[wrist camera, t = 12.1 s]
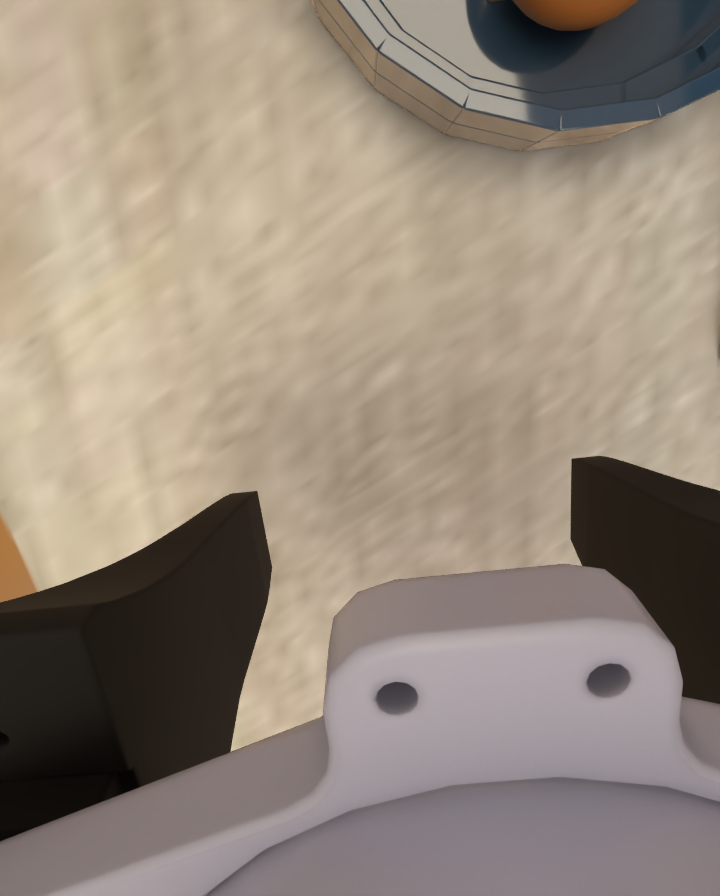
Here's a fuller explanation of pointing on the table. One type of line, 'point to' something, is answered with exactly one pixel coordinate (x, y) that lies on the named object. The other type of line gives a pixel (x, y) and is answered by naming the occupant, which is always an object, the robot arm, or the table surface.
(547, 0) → the bun
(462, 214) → the table surface
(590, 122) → the bowl
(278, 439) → the table surface
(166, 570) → the robot arm
